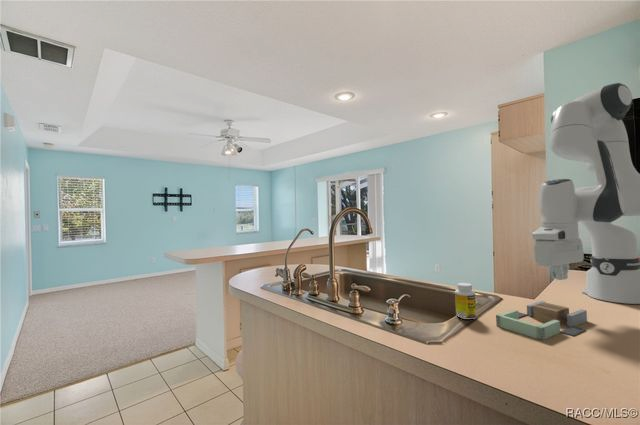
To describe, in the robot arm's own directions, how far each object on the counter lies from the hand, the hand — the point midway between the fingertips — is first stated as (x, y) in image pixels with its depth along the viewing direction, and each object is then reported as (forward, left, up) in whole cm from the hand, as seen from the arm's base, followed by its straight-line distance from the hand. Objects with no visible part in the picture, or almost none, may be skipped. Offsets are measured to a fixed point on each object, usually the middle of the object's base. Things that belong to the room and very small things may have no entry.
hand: (561, 279), depth 89 cm
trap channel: (+12, 0, -11) cm, 16 cm away
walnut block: (+7, 0, -11) cm, 13 cm away
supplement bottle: (+24, -15, -11) cm, 30 cm away
